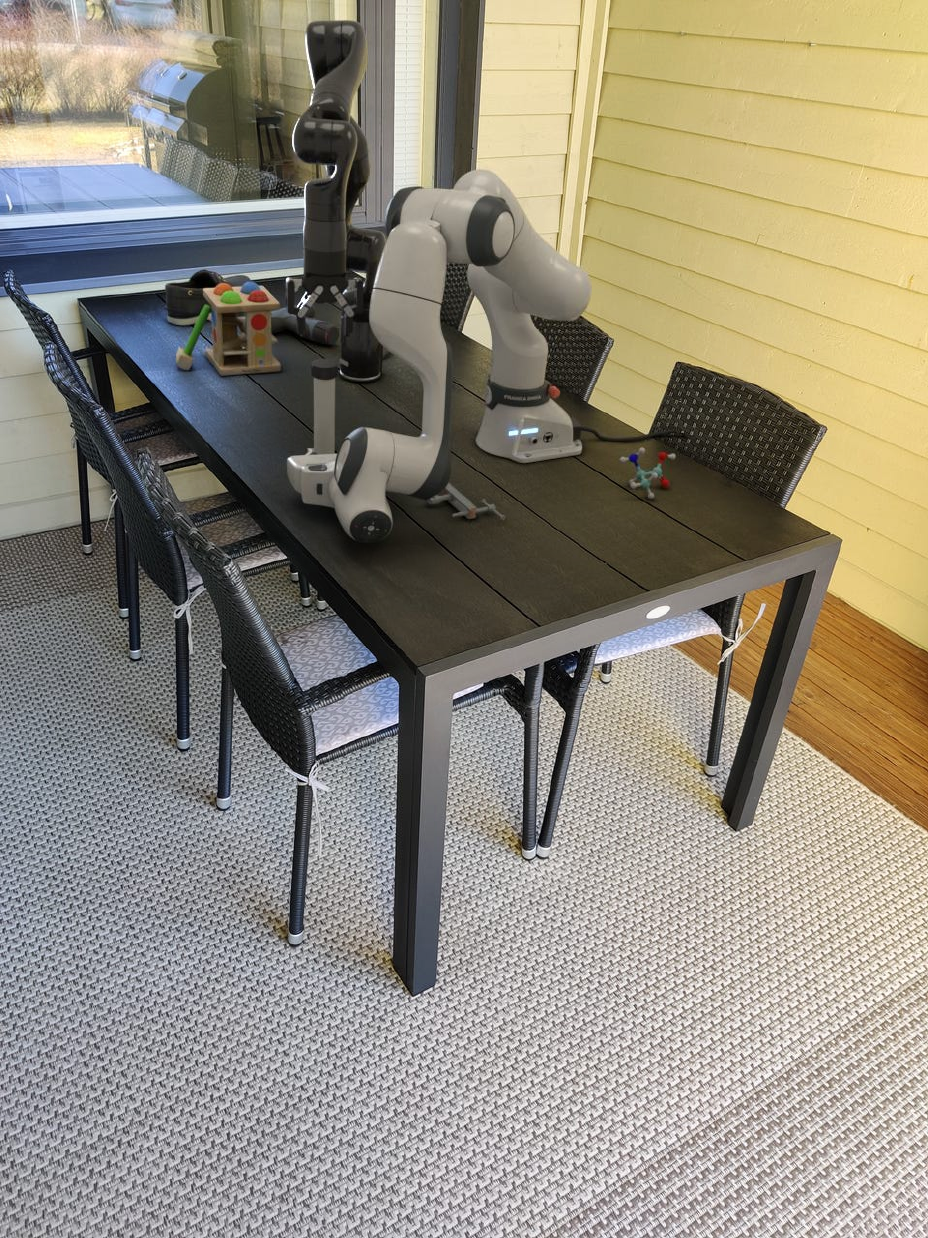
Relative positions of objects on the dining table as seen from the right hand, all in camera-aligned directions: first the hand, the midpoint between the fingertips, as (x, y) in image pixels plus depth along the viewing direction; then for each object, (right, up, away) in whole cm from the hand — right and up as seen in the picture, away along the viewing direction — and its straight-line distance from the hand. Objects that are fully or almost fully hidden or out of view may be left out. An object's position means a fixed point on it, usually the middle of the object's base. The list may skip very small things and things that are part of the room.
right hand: (336, 450), depth 182 cm
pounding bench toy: (-32, +28, +48) cm, 65 cm away
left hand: (-2, +21, 0) cm, 21 cm away
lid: (-3, +17, +3) cm, 17 cm away
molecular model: (+59, -6, +12) cm, 60 cm away
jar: (-4, +2, +13) cm, 14 cm away
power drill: (-16, +42, +71) cm, 84 cm away
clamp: (+23, -11, -2) cm, 26 cm away
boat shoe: (-44, +52, +81) cm, 105 cm away
